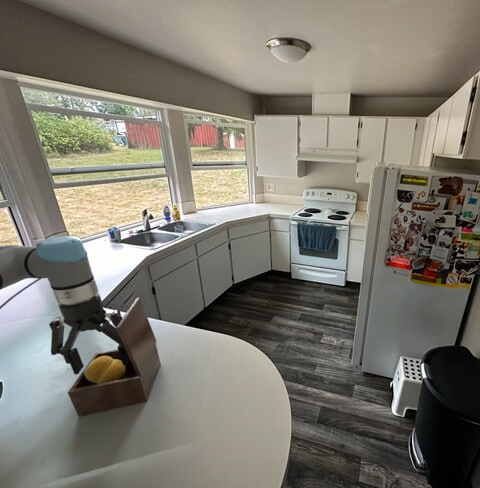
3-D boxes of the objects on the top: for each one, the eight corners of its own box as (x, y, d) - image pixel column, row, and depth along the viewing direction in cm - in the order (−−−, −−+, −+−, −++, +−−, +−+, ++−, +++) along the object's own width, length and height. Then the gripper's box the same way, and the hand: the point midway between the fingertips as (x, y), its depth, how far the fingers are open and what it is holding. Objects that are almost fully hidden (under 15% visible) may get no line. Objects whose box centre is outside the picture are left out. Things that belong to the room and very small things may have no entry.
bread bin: (78, 416, 66) (67, 392, 62) (103, 375, 78) (95, 353, 75) (147, 401, 70) (140, 378, 67) (160, 364, 82) (155, 343, 79)
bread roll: (112, 390, 68) (119, 379, 68) (76, 379, 66) (83, 368, 65) (129, 368, 76) (135, 358, 76) (97, 357, 73) (103, 347, 73)
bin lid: (115, 327, 61) (119, 326, 61) (136, 298, 73) (139, 297, 73) (138, 377, 67) (141, 376, 67) (153, 342, 79) (156, 341, 79)
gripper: (5, 313, 55) (41, 387, 63) (127, 299, 62) (146, 367, 70) (31, 296, 62) (60, 364, 70) (138, 284, 69) (154, 348, 76)
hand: (103, 365), depth 70 cm, fingers open, 10 cm apart
